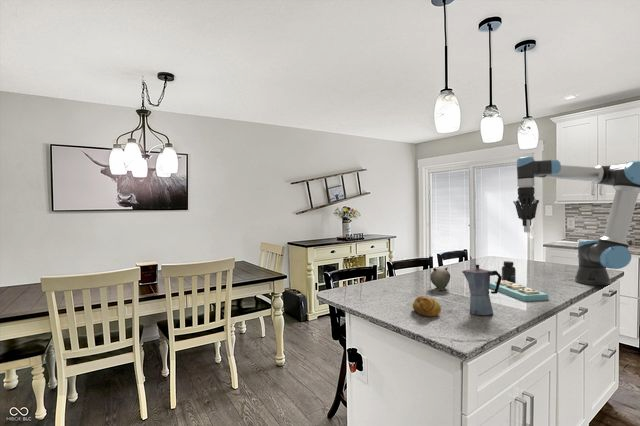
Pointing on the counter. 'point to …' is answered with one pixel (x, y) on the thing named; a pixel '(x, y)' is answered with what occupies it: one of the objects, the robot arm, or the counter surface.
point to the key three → (528, 291)
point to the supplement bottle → (508, 272)
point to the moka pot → (481, 290)
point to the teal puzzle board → (520, 295)
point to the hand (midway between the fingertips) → (527, 232)
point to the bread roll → (426, 306)
